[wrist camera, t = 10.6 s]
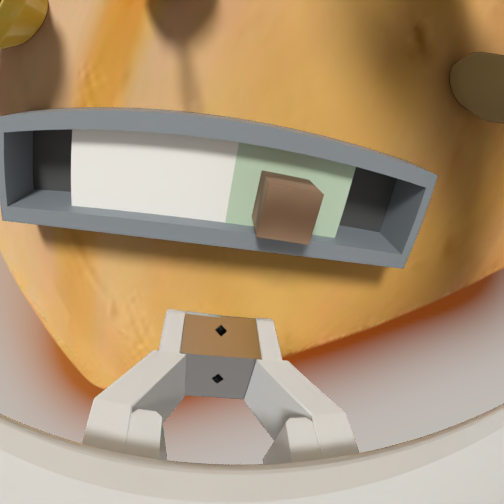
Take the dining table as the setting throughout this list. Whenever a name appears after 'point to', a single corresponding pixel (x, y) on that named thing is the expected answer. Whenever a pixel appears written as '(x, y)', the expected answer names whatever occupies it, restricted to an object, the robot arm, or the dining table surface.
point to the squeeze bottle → (480, 85)
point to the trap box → (204, 181)
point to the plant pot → (20, 20)
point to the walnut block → (286, 208)
